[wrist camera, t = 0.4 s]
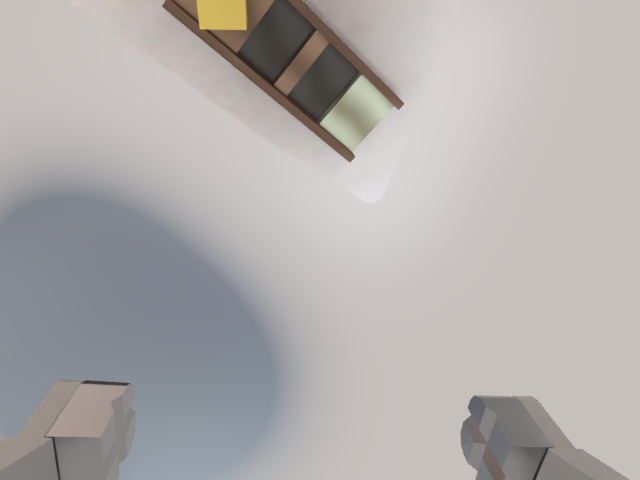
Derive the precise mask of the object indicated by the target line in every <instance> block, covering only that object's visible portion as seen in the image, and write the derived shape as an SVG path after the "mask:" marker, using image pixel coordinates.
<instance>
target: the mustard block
mask: <svg viewBox="0 0 640 480" xmlns="http://www.w3.org/2000/svg"><path fill="white" fill-rule="evenodd" d="M197 9H198V18H199V27H200V29H212V30H247V20H248V16H247V0H197Z"/></svg>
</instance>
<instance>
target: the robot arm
mask: <svg viewBox="0 0 640 480" xmlns="http://www.w3.org/2000/svg"><path fill="white" fill-rule="evenodd" d="M133 399H134V388H133V385H132V384H131V383H124V382H107V381H90V380H85V381H82V380H66V379H62V380H60V381H58V382H57V383H55V385H54V386H53V387H52V388H51V390H50V391H49V392H48V394H47V395H46V396H45V398H44V399H43V401H42V402H41V403H40V405H39V406H38V407H37V408H36V410H35V411H34V412H33V414H32V415H31V416H30V418H29V419H28V420H27V422H26V423H25V424H24V426H23V427H22V428H21V430H20V431H19V432H18V434H17V435H16V436H15V437H6V438H4V439H3V440H1V441H0V480H118V477H119V463H120V462H121V461H123V460H124V459H125V458H126V457H127V455H128V453H129V450H130V447H131V445H132V441H133V436H134V433H135V423H136V417H135V412H134V411H133V410H132V409H131V407H130V406H131V403H132V401H133ZM468 409H469V411H470V413H471V416H470V417H468V418H467V419H466V420H465V421H464V422H463V426H462V429H461V446H462V450H463V453H464V456H465V458H466V460H467V462H468V463H469V464H470V465H471V466H472V467H473V468H475V469H476V470H477V471H478V472H477V476H476V480H629V479H628V478H626V477H625V476H623V475H622V474H620V473H618V472H617V471H615V470H614V469H612V468H611V467H609V466H607V465H606V464H604V463H603V462H601V461H600V460H598V459H597V458H595V457H593V456H592V455H590V454H589V453H587V452H585V451H584V450H582V449H575V447H574V446H573V445H572V443H571V442H570V441H569V440H568V438H567V437H566V436H565V435H564V433H563V432H562V431H561V429H560V428H559V427H558V426H557V425H556V423H555V422H554V421H553V419H552V418H551V417H550V416H549V414H548V413H547V412H546V410H545V409H544V408H543V407H542V405H541V404H540V403H539V402H538V400H536V399H535V398H533V397H531V396H512V397H509V396H476V395H475V396H473V397H472V399H471V400H470V402H469V406H468Z"/></svg>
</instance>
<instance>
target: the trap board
mask: <svg viewBox="0 0 640 480" xmlns="http://www.w3.org/2000/svg"><path fill="white" fill-rule="evenodd" d="M162 7H163V8H165V9H166V10H167V11H168V12H169V13H171V14H172V15H173V16H174V17H175V18H177V19H178V20H179V21H180V22H181V23H183V24H184V25H185V26H186V27H187V28H189V29H190V30H191V31H192V32H193V33H195V34H196V35H197V36H198V37H199V38H201V39H202V40H203V41H204V42H205V43H207V44H208V45H209V46H210V47H211V48H213V49H214V50H215V51H216V52H217V53H219V54H220V55H221V56H222V57H224V58H225V59H226V60H227V61H228V62H230V63H231V64H232V65H233V66H234V67H236V68H237V69H238V70H239V71H240V72H242V73H243V74H244V75H245V76H246V77H248V78H249V79H250V80H251V81H252V82H254V83H255V84H256V85H257V86H258V87H260V88H261V89H262V90H263V91H264V92H266V93H267V94H268V95H269V96H270V97H272V98H273V99H274V100H275V101H276V102H278V103H279V104H280V105H281V106H282V107H284V108H285V109H286V110H287V111H288V112H290V113H291V114H292V115H293V116H294V117H296V118H297V119H298V120H299V121H301V122H302V123H303V124H304V125H305V126H307V127H308V128H309V129H310V130H311V131H313V132H314V133H315V134H316V135H317V136H319V137H320V138H321V139H322V140H323V141H325V142H326V143H327V144H328V145H329V146H331V147H332V148H333V149H334V150H335V151H337V152H338V153H339V154H340V155H341V156H343V157H344V158H345V159H346V160H347V161H349V162H351V161H352V160H353V159H354V158H355V156H354V154H353V152H352V151H353V150H354V149H355V148H356V147H357V146H358V145H359V143H360V142H361V141H362V140H363V139H364V138H365V137H366V136H367V135H368V134H369V132H370V131H371V130H372V129H373V128H374V127H375V126H376V125H377V124H378V123H379V122H380V120H381V119H382V118H383V117H384V116H385V115H386V114H387V113H388V112H389V111H390V110H391V108H392V107H393V106H395V107H396V108H397V109H398V110H399V109H400V108H401V107H402V106H403V105H404V103H403V102H402V101H401V100H400V99H399V98H398V97H397V96H396V95H395V94H394V93H393V92H392V91H391V90H390V89H389V88H388V87H387V86H386V85H385V84H384V83H383V82H382V81H381V80H380V79H379V78H378V77H377V76H376V75H375V74H374V73H373V72H372V71H371V70H370V69H369V68H368V67H367V66H366V65H365V64H364V63H363V62H362V61H361V60H360V59H359V58H358V57H357V55H356V54H355V53H354V52H353V51H352V50H351V49H350V48H349V47H348V46H347V45H346V44H345V43H344V42H343V41H342V40H341V39H340V38H339V37H338V36H337V35H336V34H335V33H334V32H333V31H332V30H331V29H330V28H329V27H328V26H327V25H326V24H325V23H324V22H323V21H322V20H321V19H320V18H319V17H318V16H317V15H316V14H315V13H314V12H313V11H312V10H311V9H310V8H309V7H308V6H307V5H306V4H305V3H304V2H303V1H302V0H247V16H248V20H247V30H212V29H200V27H199V18H198V9H197V0H166V1H165V3H164V4H163V6H162Z"/></svg>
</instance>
